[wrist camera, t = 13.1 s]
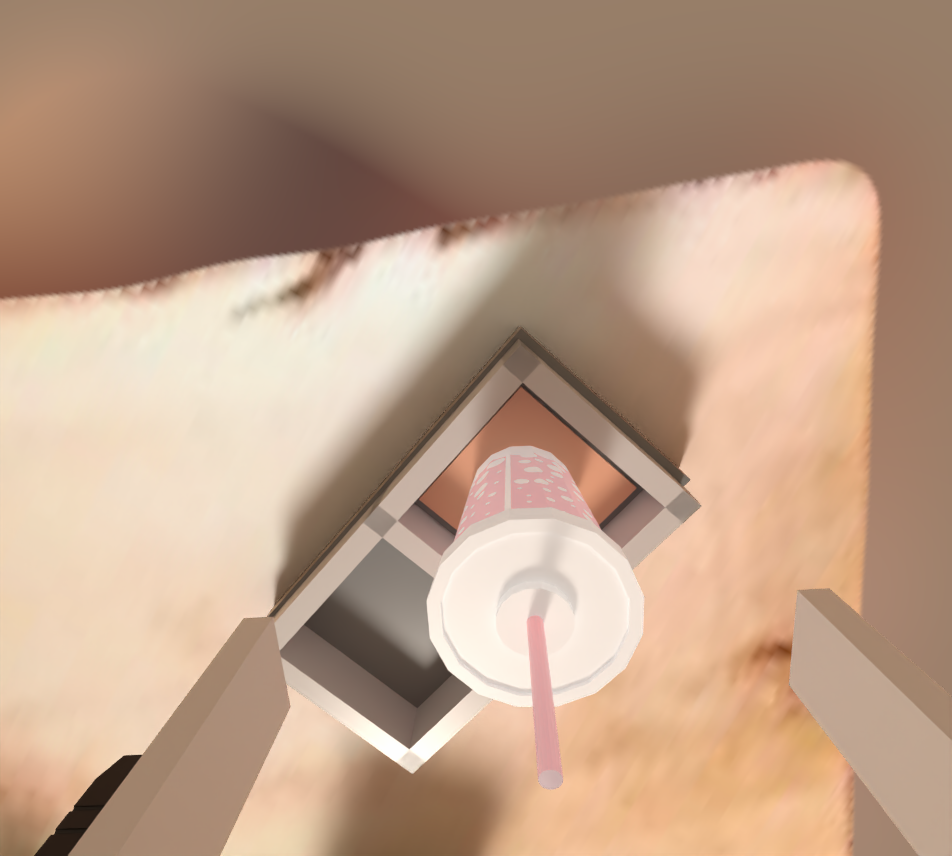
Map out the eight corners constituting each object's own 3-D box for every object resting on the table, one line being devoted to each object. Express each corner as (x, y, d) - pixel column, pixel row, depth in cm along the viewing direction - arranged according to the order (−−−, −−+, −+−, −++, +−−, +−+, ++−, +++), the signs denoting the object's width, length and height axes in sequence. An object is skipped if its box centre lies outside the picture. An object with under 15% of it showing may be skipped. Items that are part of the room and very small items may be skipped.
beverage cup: (472, 569, 25) (437, 916, 11) (437, 446, 23) (348, 675, 10) (604, 541, 24) (736, 876, 10) (576, 413, 22) (690, 610, 9)
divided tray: (273, 606, 28) (237, 658, 24) (519, 325, 23) (524, 333, 20) (422, 715, 29) (410, 781, 25) (679, 468, 25) (712, 501, 21)
